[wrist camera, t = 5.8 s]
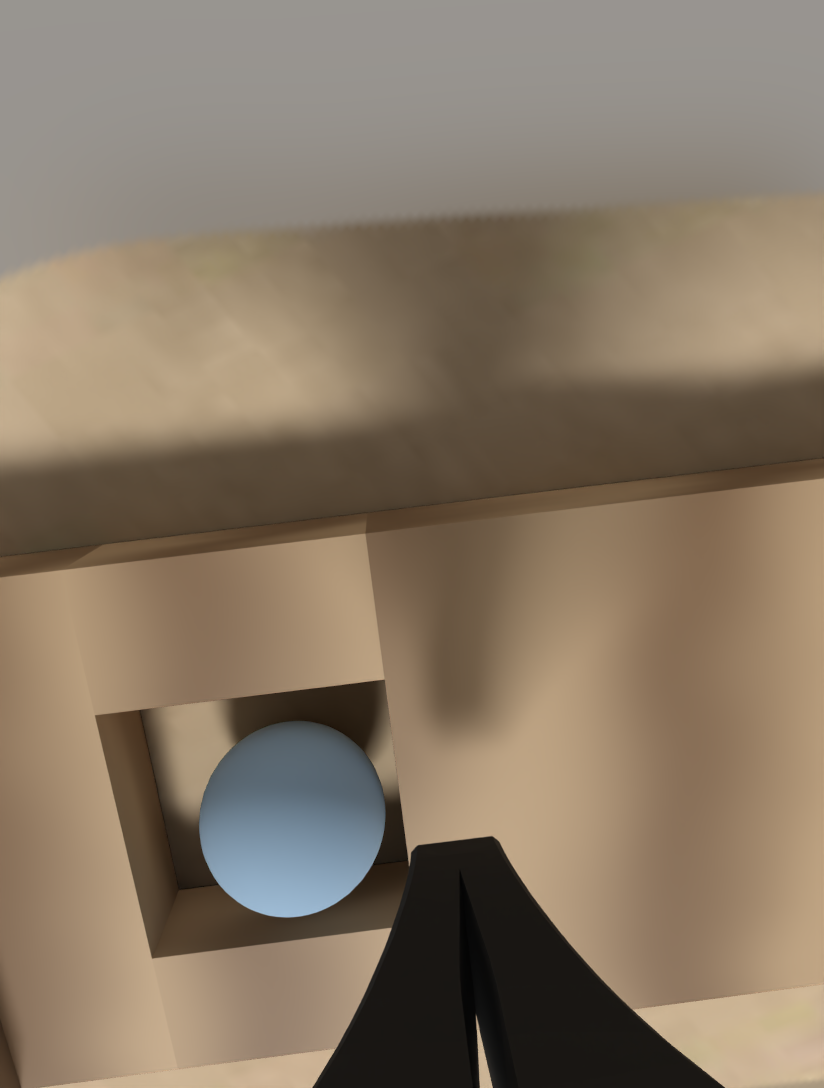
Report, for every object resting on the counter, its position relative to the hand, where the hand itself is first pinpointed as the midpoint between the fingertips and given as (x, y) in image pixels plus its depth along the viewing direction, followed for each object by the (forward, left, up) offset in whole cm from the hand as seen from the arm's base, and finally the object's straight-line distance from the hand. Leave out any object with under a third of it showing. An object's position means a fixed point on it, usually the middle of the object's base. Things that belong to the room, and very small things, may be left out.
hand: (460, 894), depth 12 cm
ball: (+3, 0, -3) cm, 4 cm away
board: (0, 0, -5) cm, 5 cm away
